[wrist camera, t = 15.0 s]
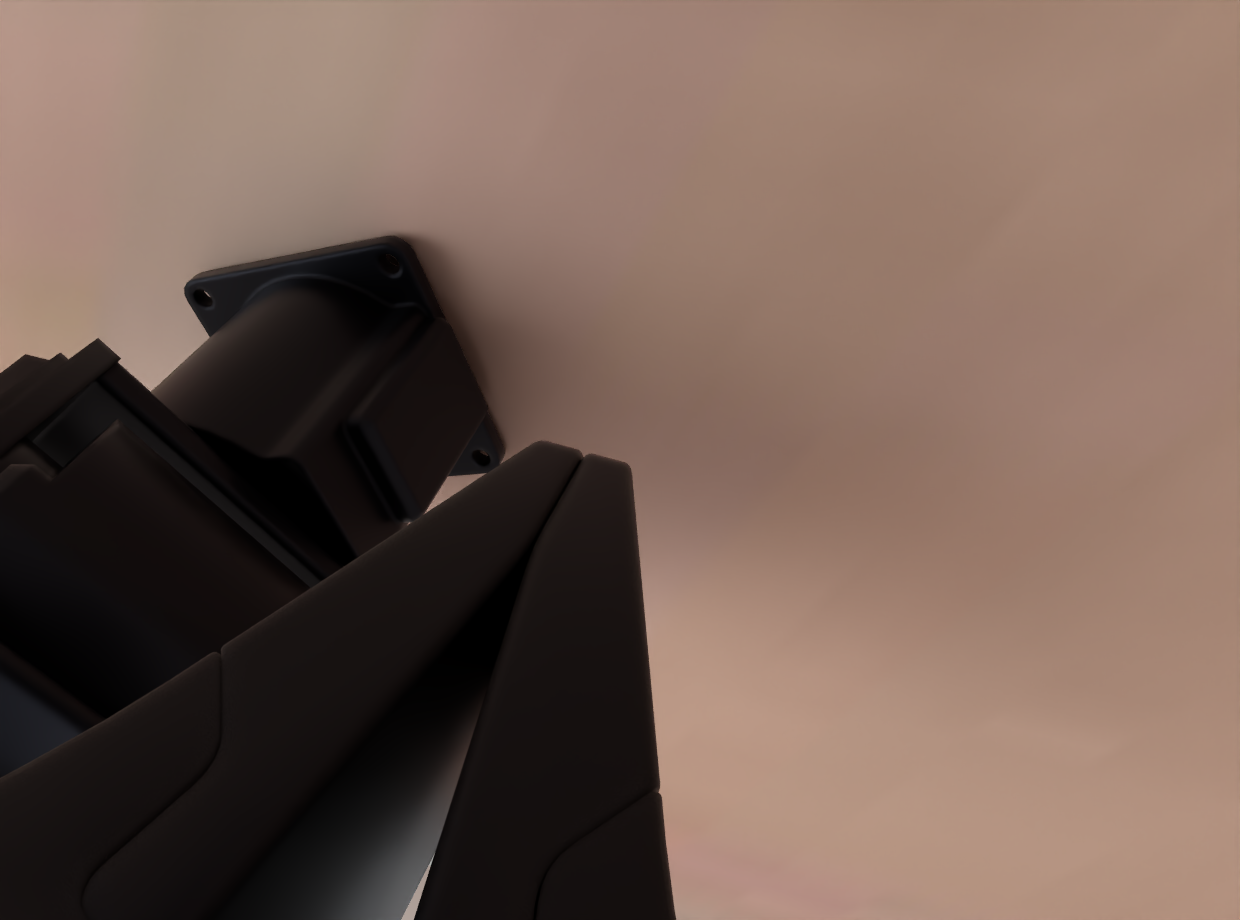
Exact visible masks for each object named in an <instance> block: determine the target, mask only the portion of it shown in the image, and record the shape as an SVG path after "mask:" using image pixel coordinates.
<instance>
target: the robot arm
mask: <svg viewBox="0 0 1240 920" xmlns="http://www.w3.org/2000/svg"><path fill="white" fill-rule="evenodd" d="M386 254H390V255H391V256H393V257H395V258H396V260H397V261H398V262H399V266H396V265H394V264H392V263H391V262H390V261H389V260H388V258H387V255H386ZM184 291H185V296H186V298H187V301H188V303H189V304H190V306H191V307H192V309H193V311H194V312H195V314H196V315H197V317H198V319H199V320H200V322H201V324H202V325H203V327H204V328H205V330H206V332H207V333H208V335H209V337H210V338H209V339H208V340H207V341H206V342H205V343H204V344H202V345H201V346H200V347H199V348H198V349H197V350H196V351H195V352H194V353H193V354H192V355H191V356H189V357H188V358H187V359H186V360H185V361H184V362H183V363H182V364H181V365H180V366H179V367H178V368H176V369H175V370H174V371H173V372H172V373H171V374H170V375H169V376H168V377H167V378H166V379H165V380H163V381H162V382H161V383H160V384H159V385H158V386H157V387H156V388H155V389H154V390H153V391H151V392H150V391H149V390H148V389H147V388H146V387H145V386H143V385H142V384H141V383H140V382H139V381H138V380H137V379H136V378H135V377H134V376H132V375H131V374H130V373H129V372H128V371H127V370H126V369H125V368H124V367H122V366H121V365H120V364H119V363H118V361H119V360H120V359H121V358H120V357H119V356H118V355H116V354H115V353H114V352H113V351H112V350H111V349H110V348H109V347H108V346H106V345H105V344H104V343H103V342H102V341H101V340H100V339H99V338H97V339H96V340H95V341H93V342H92V343H91V344H89V345H88V346H86V347H85V348H84V349H82V350H81V351H80V352H78V353H77V354H76V355H74V356H73V357H72V358H70V359H67V358H66V357H65V356H64V355H63V354H62V353H59V354H57V355H56V356H55V357H53V358H52V359H50V360H46V359H42V358H38V357H34V356H30V355H26V354H25V355H24V356H23V357H21V358H20V359H19V360H17V361H16V362H15V363H13V364H12V365H11V366H9V367H8V368H7V369H5V370H4V371H3V372H2V373H0V920H401V919H402V917H403V915H404V913H405V911H406V909H407V907H408V905H409V903H410V901H411V899H412V897H413V895H414V893H415V891H416V889H417V887H418V885H419V883H420V881H421V879H422V877H423V875H424V873H425V871H426V869H427V867H428V865H429V863H430V861H431V859H432V857H433V855H434V853H435V855H434V858H433V861H432V864H431V867H430V870H429V874H428V877H427V880H426V883H425V886H424V890H423V892H422V896H421V899H420V902H419V905H418V908H417V911H416V915H415V918H414V920H676V916H675V910H674V903H673V895H672V887H671V879H670V871H669V863H668V855H667V847H666V839H665V828H664V817H663V806H662V797H661V795H660V794H659V793H658V792H659V789H660V778H659V767H658V756H657V745H656V734H655V723H654V712H653V701H652V690H651V679H650V667H649V656H648V645H647V634H646V623H645V612H644V601H643V590H642V579H641V568H640V557H639V546H638V535H637V524H636V513H635V502H634V491H633V480H632V471H631V468H630V466H629V465H628V464H627V463H625V462H621V461H618V460H614V459H610V458H607V457H603V456H599V455H596V454H588V455H586V456H585V457H583V455H582V453H581V452H580V451H579V450H577V449H574V448H571V447H567V446H563V445H560V444H556V443H552V442H549V441H543V440H541V441H537V442H534V443H533V444H531V445H530V446H528V447H526V448H525V449H523V450H522V451H520V452H519V453H517V454H516V455H514V456H513V457H511V458H510V459H508V460H507V461H505V462H503V463H502V464H501V462H502V460H503V458H504V455H505V449H504V446H503V444H502V441H501V439H500V437H499V435H498V433H497V431H496V428H495V426H494V424H493V422H492V420H491V417H490V415H489V413H488V406H487V404H486V402H485V400H484V397H483V395H482V393H481V391H480V389H479V386H478V384H477V382H476V380H475V378H474V375H473V373H472V371H471V369H470V367H469V364H468V362H467V360H466V358H465V356H464V353H463V351H462V349H461V347H460V345H459V342H458V340H457V338H456V336H455V334H454V331H453V329H452V327H451V326H450V324H449V323H448V322H447V321H446V319H445V317H444V314H443V312H442V310H441V308H440V306H439V304H438V301H437V299H436V297H435V295H434V293H433V290H432V288H431V286H430V284H429V282H428V279H427V277H426V275H425V273H424V271H423V268H422V266H421V264H420V262H419V260H418V258H417V255H416V253H415V251H414V250H413V248H412V247H411V245H410V244H408V243H407V242H406V241H405V240H403V239H401V238H399V237H396V236H384V237H379V238H374V239H369V240H364V241H359V242H354V243H349V244H344V245H339V246H333V247H328V248H323V249H318V250H313V251H308V252H303V253H298V254H293V255H288V256H283V257H277V258H272V259H267V260H262V261H257V262H252V263H247V264H242V265H237V266H232V267H226V268H221V269H216V270H211V271H206V272H201V273H199V274H197V275H196V276H195V277H193V278H192V279H191V280H190V281H189V282H187V284H186V286H185V287H184ZM204 291H206V292H207V293H208V294H209V295H210V296H211V297H209V296H208V295H207V294H206V293H205V292H204ZM479 450H482V451H484V452H486V453H487V454H488V455H489V456H487V455H484V454H482V453H481V452H480V451H479ZM482 473H487V474H485V475H484V476H482V477H481V478H479V479H477V480H476V481H474V482H473V483H471V484H470V485H468V486H467V487H465V488H464V489H462V490H461V491H459V492H458V493H456V494H454V495H453V496H451V497H450V498H448V499H447V500H445V501H444V502H442V503H441V504H439V505H438V506H436V507H435V508H433V509H431V510H430V511H428V512H427V513H425V512H426V510H427V509H428V507H429V505H430V504H431V502H432V501H433V499H434V497H435V496H436V494H437V492H438V491H439V489H440V488H441V486H442V484H443V483H444V481H445V480H446V478H447V476H457V475H470V474H482ZM424 513H425V514H424ZM409 522H412V523H410V524H409V525H408V523H409Z"/></svg>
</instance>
